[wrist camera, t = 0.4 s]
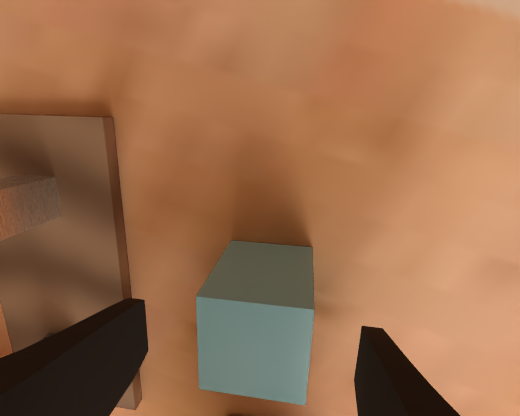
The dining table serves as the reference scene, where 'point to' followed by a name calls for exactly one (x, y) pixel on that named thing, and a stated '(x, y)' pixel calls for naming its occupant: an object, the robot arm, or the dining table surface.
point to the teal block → (257, 322)
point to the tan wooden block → (27, 203)
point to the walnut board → (64, 230)
